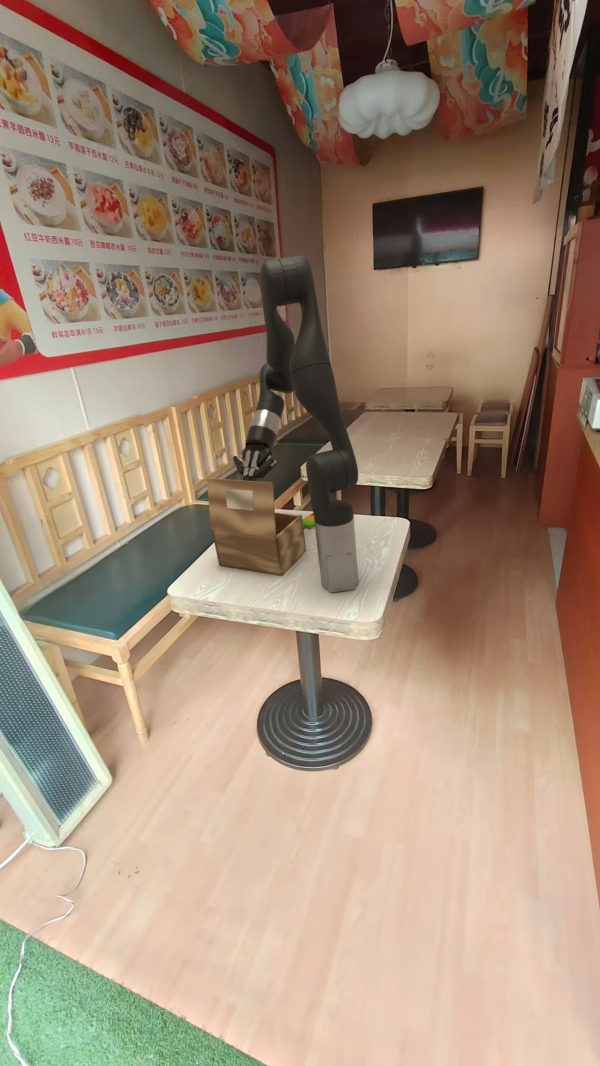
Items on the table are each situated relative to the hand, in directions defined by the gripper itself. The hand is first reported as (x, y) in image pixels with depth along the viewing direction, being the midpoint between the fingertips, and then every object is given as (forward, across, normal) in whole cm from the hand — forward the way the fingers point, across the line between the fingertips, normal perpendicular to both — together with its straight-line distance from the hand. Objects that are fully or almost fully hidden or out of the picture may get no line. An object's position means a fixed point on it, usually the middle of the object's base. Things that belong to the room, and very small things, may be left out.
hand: (245, 491), depth 132 cm
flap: (+4, 0, 0) cm, 4 cm away
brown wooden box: (+13, 0, +17) cm, 21 cm away
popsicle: (-3, +3, +33) cm, 34 cm away
